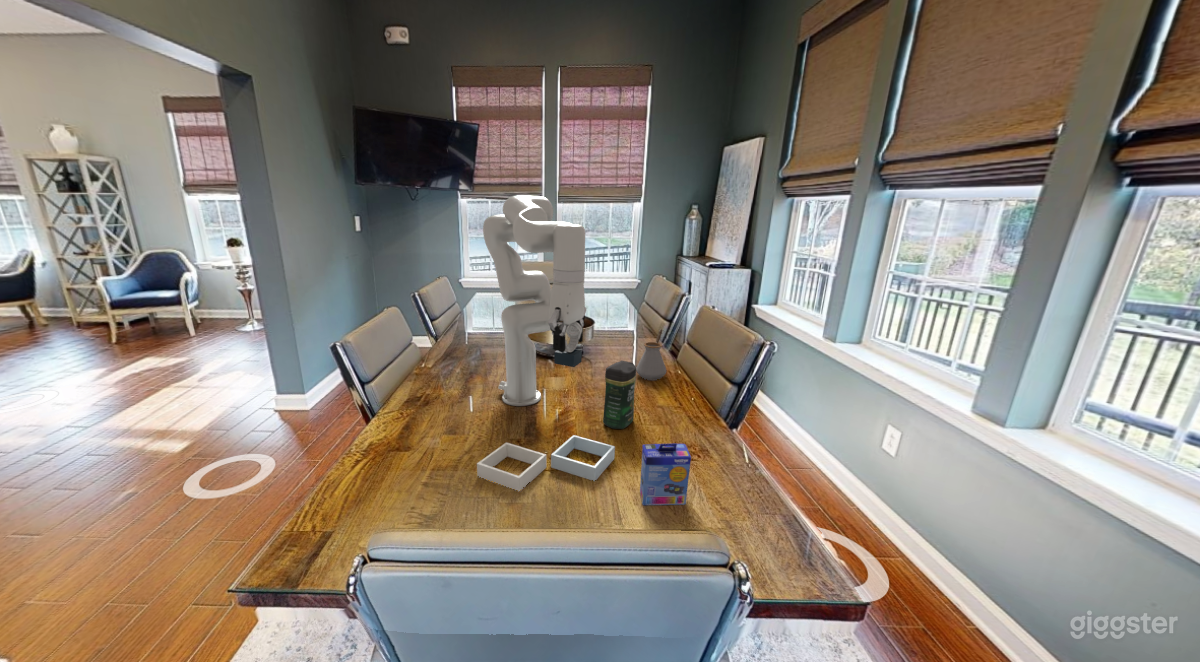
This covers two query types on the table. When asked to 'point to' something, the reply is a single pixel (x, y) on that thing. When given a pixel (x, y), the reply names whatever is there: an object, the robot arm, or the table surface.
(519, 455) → the tray near
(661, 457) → the ink cartridge box
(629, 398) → the coffee jar
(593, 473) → the tray far
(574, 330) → the watch
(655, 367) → the coffee pot
